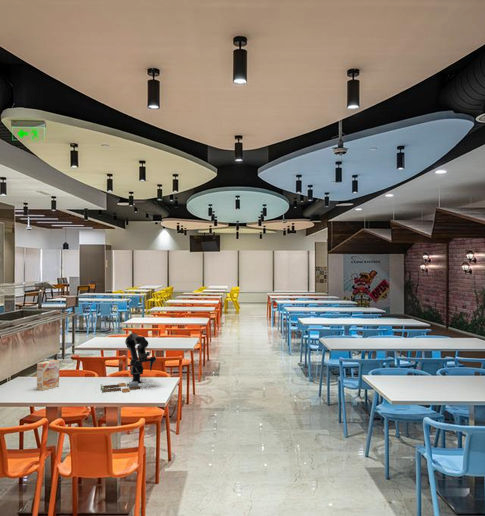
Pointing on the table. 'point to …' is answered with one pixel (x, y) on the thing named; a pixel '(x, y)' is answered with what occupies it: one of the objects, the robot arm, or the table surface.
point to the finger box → (116, 388)
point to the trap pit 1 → (122, 384)
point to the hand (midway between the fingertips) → (144, 371)
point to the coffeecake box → (47, 374)
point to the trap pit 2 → (126, 390)
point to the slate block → (133, 384)
